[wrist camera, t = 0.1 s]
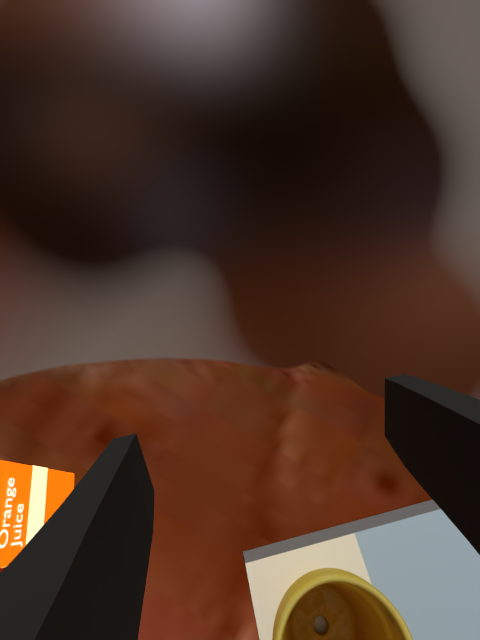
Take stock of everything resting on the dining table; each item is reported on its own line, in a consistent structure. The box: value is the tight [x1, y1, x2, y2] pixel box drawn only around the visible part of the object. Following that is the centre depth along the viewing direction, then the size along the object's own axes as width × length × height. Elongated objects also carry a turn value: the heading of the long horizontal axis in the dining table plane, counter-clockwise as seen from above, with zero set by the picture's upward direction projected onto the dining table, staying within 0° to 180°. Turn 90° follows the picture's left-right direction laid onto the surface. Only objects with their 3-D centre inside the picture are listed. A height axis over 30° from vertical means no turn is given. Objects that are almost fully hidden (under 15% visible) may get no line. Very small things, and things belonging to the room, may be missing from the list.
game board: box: [243, 500, 480, 640], centre depth 32 cm, size 14×24×1 cm, turn 103°
